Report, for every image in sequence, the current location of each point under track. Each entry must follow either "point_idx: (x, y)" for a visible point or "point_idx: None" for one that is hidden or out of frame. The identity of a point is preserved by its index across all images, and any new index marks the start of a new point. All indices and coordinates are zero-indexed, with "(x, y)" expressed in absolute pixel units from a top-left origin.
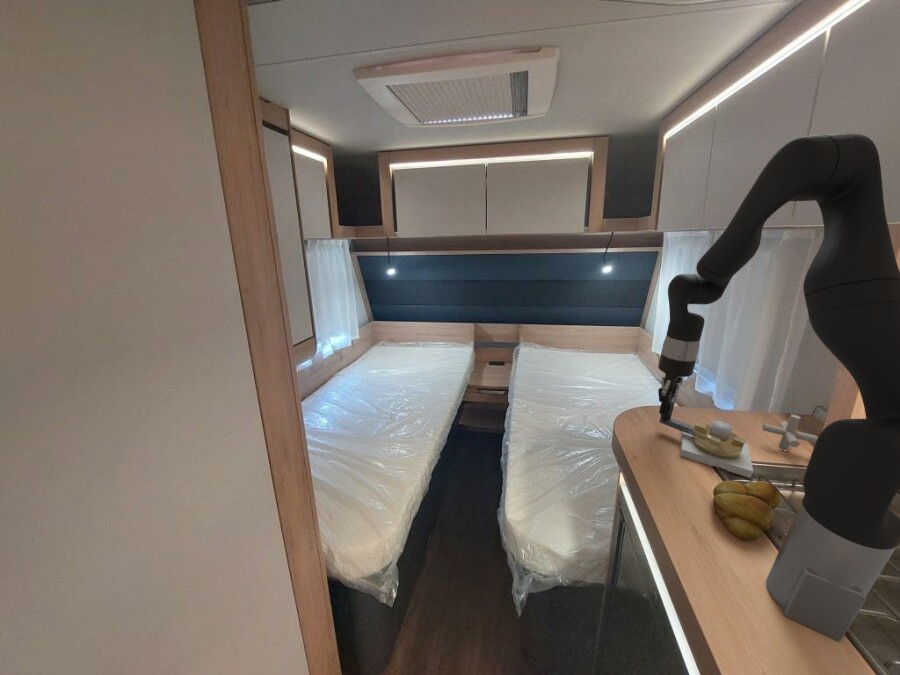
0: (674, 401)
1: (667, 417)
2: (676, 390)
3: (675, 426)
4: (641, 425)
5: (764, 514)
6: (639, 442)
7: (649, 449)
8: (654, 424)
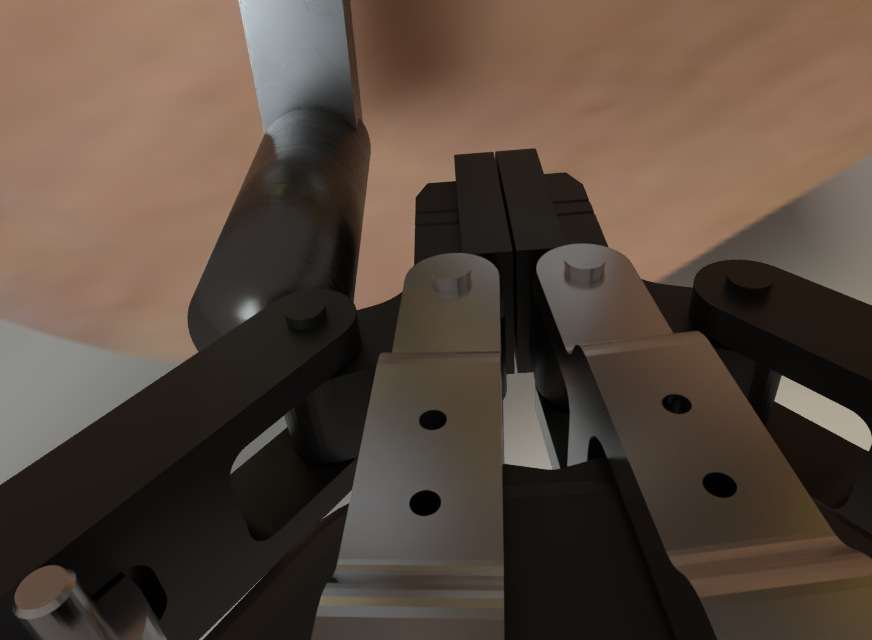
0: (284, 248)
1: (354, 145)
2: (803, 492)
3: (346, 8)
4: (381, 248)
5: None
6: (662, 153)
7: (719, 50)
8: None
